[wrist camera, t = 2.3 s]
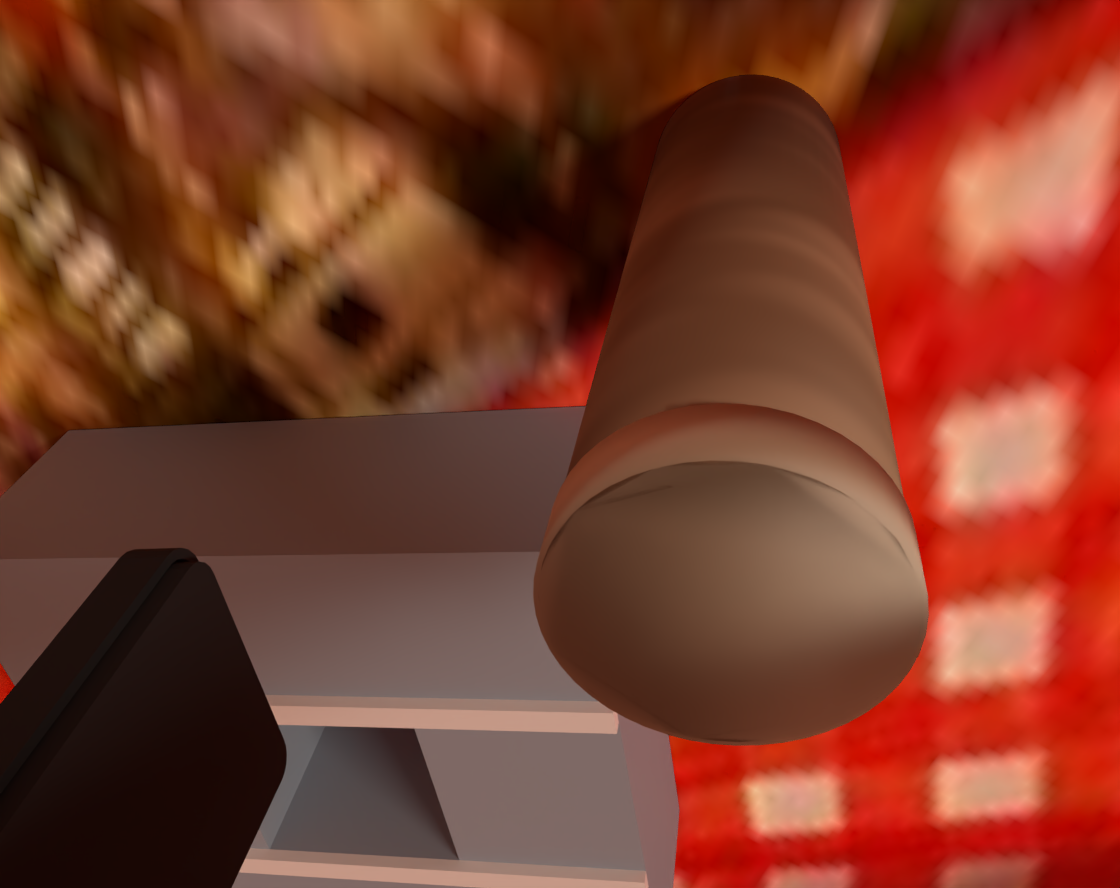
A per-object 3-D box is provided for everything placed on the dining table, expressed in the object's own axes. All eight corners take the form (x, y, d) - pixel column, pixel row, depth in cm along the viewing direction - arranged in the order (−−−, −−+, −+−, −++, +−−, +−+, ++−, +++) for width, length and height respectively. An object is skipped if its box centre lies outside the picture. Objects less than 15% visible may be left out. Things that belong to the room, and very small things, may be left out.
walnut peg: (842, 59, 18) (937, 447, 8) (843, 248, 19) (921, 750, 10) (642, 84, 18) (501, 462, 9) (662, 262, 20) (563, 741, 10)
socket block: (620, 404, 22) (584, 561, 18) (679, 810, 30) (664, 989, 25) (68, 430, 25) (-75, 569, 21) (247, 791, 33) (169, 948, 29)
